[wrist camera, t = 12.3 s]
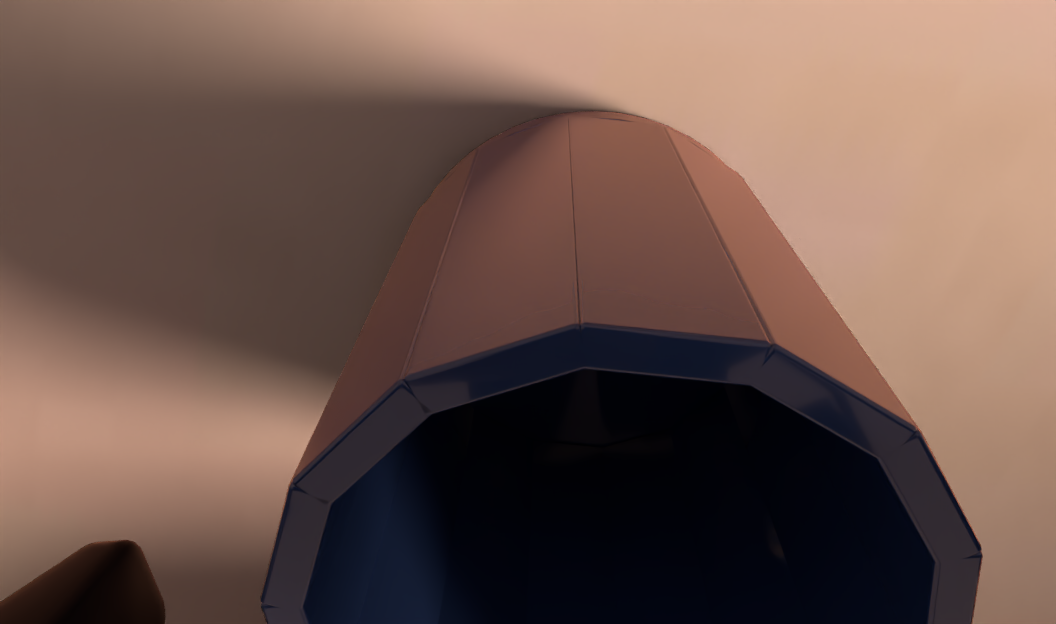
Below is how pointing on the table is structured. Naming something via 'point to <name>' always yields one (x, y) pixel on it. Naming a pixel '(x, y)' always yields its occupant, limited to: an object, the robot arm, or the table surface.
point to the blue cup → (612, 416)
